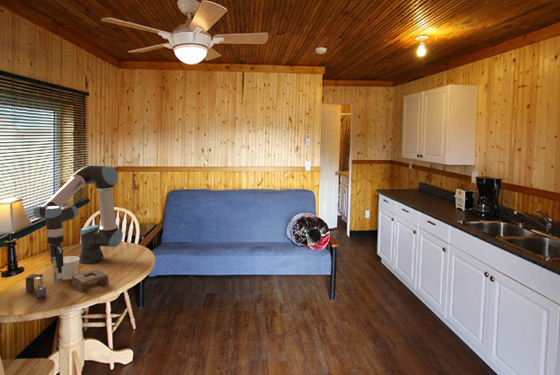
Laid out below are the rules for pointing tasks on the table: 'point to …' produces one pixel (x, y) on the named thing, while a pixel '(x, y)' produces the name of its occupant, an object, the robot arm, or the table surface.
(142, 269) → the table surface
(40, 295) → the short pin
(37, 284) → the medium pin
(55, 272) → the long pin
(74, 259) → the cup
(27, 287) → the box
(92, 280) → the bracket
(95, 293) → the table surface
